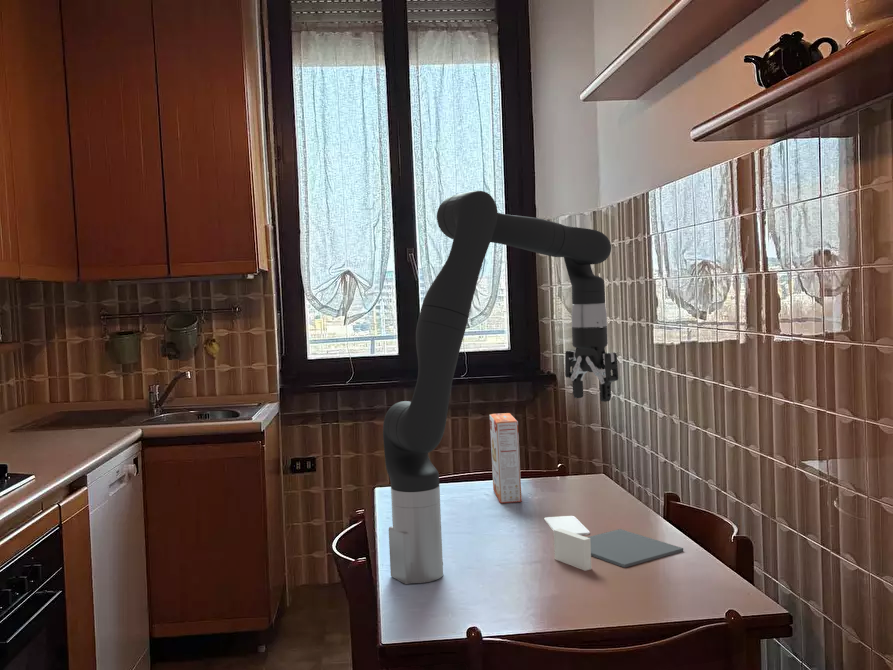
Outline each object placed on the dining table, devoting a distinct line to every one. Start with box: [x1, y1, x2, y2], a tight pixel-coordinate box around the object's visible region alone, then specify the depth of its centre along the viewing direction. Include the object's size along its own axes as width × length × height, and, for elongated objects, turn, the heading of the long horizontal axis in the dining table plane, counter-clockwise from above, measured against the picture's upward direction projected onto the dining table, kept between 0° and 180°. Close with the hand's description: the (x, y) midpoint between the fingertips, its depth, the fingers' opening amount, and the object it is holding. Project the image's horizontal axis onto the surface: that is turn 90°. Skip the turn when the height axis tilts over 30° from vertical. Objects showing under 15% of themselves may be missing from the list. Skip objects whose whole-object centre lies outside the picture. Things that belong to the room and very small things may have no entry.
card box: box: [553, 528, 592, 572], centre depth 167 cm, size 2×9×6 cm, turn 32°
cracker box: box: [489, 412, 523, 504], centre depth 222 cm, size 14×6×21 cm, turn 4°
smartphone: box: [543, 515, 591, 536], centre depth 193 cm, size 7×1×15 cm
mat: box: [587, 528, 684, 569], centre depth 175 cm, size 16×18×1 cm
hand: (591, 399), depth 186 cm, fingers open, 8 cm apart
